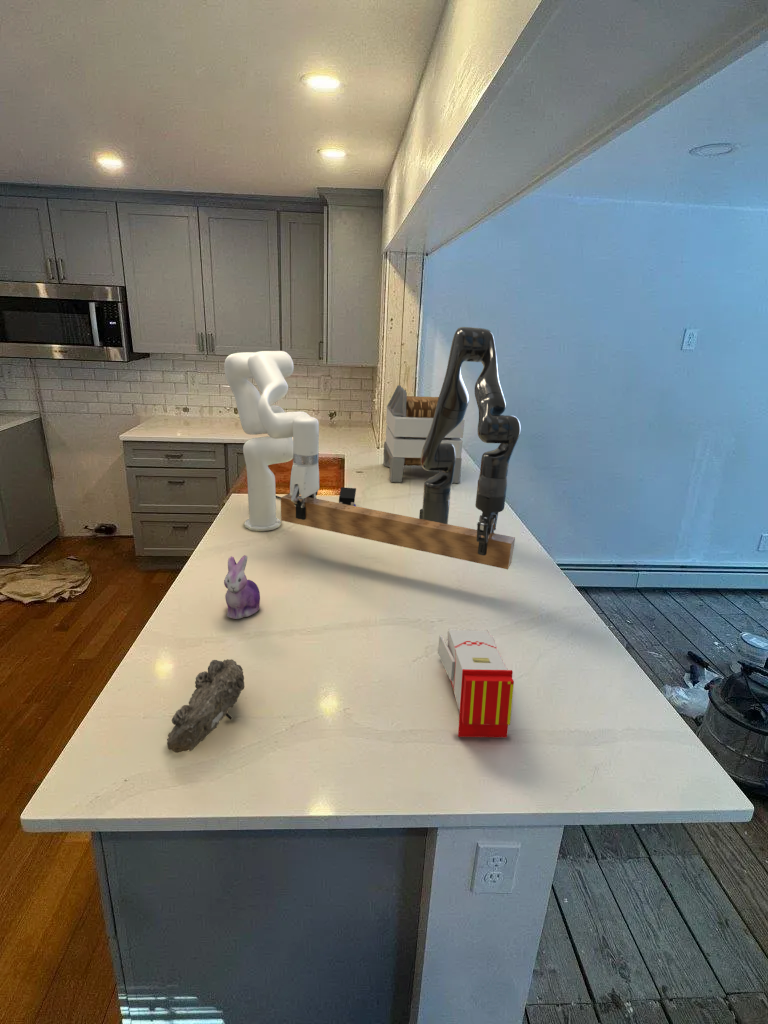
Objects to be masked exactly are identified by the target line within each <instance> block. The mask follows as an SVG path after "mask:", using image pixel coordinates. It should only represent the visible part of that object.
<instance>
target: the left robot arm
mask: <svg viewBox="0 0 768 1024" xmlns="http://www.w3.org/2000/svg"><path fill="white" fill-rule="evenodd" d="M223 367H224V368H223V369H224V375H225V379H226V382H227V384H228V386H229V388H230V390H231V392H232V394H233V397H234V400H235V404H236V407H237V412H238V418H239V421H240V425H241V428H242V431H243V432H244V433H245V434H247V435H252V436H253V435H254V436H255V435H266V434H267V436H260V437H253V438H250V439H247V441H245V442H244V444H243V446H242V447H243V448H242V451H243V458H244V463H245V468H246V469H245V470H246V479H247V480H246V482H247V505H248V506H247V507H248V519H246V520H245V521H244V527H245V528H246V529H247V530H249V531H254V532H255V531H256V532H269V531H273V530H276V529H278V528H279V527H280V526H281V525H282V521H281V519H280V518H278V517H277V498H276V496H277V492H276V488H277V487H276V476H275V474H274V472H273V471H272V470H271V469H270V467H269V466H271V465H276V464H284V463H288V462H291V461H292V466H291V470H290V471H291V472H290V478H289V479H290V481H289V493H290V495H291V496H292V497H291V501H292V502H293V503H294V504H295V506H296V518H297V519H302V520H305V519H306V507H304V505H305V499H306V497H310V498H316V499H317V496H318V492H319V491H320V488H321V487H320V465H319V456H320V455H319V454H320V453H319V450H320V449H319V448H320V447H319V446H320V423H319V419H318V418H316V417H314V416H311V415H309V413H307V412H306V411H302V410H299V411H285V409H284V408H283V407H281V406H280V405H276V404H275V403H277V402H279V401H281V400H282V399H283V398H285V396H286V395H287V394H288V391H289V384H288V382H287V381H286V378H290V377H291V376H292V375H293V373H294V370H295V369H294V361H293V359H292V357H291V355H290V354H289V353H288V352H286V351H284V350H259V351H253V352H252V351H247V352H246V351H245V352H235V353H231V354H229V355H228V356H227V357H226V358H225V360H224V365H223ZM249 379H253V380H254V382H255V383H256V385H257V387H258V388H257V387H256V386H255V385H254V384H253V383H252V382H251V381H250V380H249ZM274 404H275V405H274ZM299 495H300V496H301V497H300V496H299ZM299 499H302V502H300V501H299Z"/></svg>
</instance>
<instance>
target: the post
mask: <svg viewBox="0 0 768 1024" xmlns="http://www.w3.org/2000/svg"><path fill="white" fill-rule="evenodd" d="M299 496H300V497H301V495H299ZM280 497H281V499H280V521H281V522H286V523H290V524H295V525H300V526H305V527H309V528H314V529H319V530H324V531H328V532H333V533H338V534H342V535H346V536H351V537H356V538H359V539H360V538H361V539H365V540H369V541H374V542H379V543H384V544H389V545H393V546H397V547H402V548H407V549H412V550H415V551H421V552H425V553H429V554H434V555H439V556H443V557H449V558H453V559H458V560H461V561H467V562H472V563H476V564H481V565H485V566H489V567H495V568H498V569H503V570H509V568H510V567H511V565H512V563H513V556H514V549H515V542H516V537H515V536H510V535H505V534H500V533H496V532H494V533H491V534H490V535H489V539H488V544H487V553H486V555H485V556H484V555H479V554H478V546H479V542H477V540H476V539H477V529H474V528H470V527H469V528H468V527H464V526H459V525H454V524H449V523H448V524H444V523H439V522H434V521H428V520H423V519H419V517H412V516H407V515H402V514H399V513H398V514H397V513H392V512H387V511H382V510H376V509H371V508H367V507H362V506H357V505H356V506H351V505H346V504H341V503H339V502H336V501H330V500H327V499H322V498H317V497H316V498H310V497H306V499H305V505H304V507H306V519H305V520H302V519H297V518H296V506H295V504H294V503H293V502H292V501H291V497H292V496H291V495H290V492H289V493H287V494H285V495H283V496H280ZM299 501H300V502H302V499H299ZM481 537H482V538H484V536H481Z"/></svg>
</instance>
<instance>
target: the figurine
mask: <svg viewBox="0 0 768 1024" xmlns="http://www.w3.org/2000/svg"><path fill="white" fill-rule="evenodd" d="M247 562H248V556H247V555H246V554H243V556H242V557H241V558H240V559H239V560H238V561H236V560H235V557H234V556H232V555H231V556H230V557H228V560H227V573H226V575H225V576H224V577H225V578H224V580H223V585H224V588H226V589H227V590H226V593H225V595H224V596H225V597H224V599H225V603H226V607H227V612H226V617H227V618H230V619H234V620H235V619H236V620H240V619H243V618H248V617H250V616H252V615H254V614H256V613H257V612H259V610H260V603H261V592H260V589H259V587H258V584H256V582H255V581H253V580H250V579H248V578H247V576H246V573H245V570H246V567H247Z"/></svg>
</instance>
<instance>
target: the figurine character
mask: <svg viewBox="0 0 768 1024" xmlns="http://www.w3.org/2000/svg"><path fill="white" fill-rule="evenodd" d="M356 492H357V488H355V487H344V486H341V487H340V491H339V496H338V503H341V504H346V505H351V506H357V505H356V503H355V499H356Z"/></svg>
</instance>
